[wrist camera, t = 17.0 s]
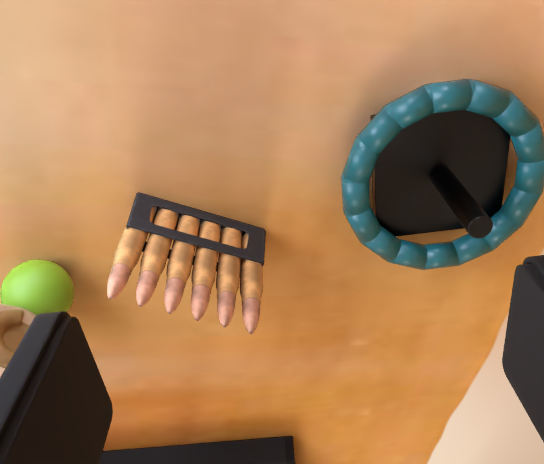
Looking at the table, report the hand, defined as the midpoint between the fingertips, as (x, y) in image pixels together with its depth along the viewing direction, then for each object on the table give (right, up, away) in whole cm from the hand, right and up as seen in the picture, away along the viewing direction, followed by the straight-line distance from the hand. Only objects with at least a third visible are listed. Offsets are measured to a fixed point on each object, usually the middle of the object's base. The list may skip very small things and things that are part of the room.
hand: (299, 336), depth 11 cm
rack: (+12, +7, +29) cm, 32 cm away
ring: (+12, +6, +27) cm, 30 cm away
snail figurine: (-20, -1, +33) cm, 38 cm away
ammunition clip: (-6, +3, +31) cm, 32 cm away
